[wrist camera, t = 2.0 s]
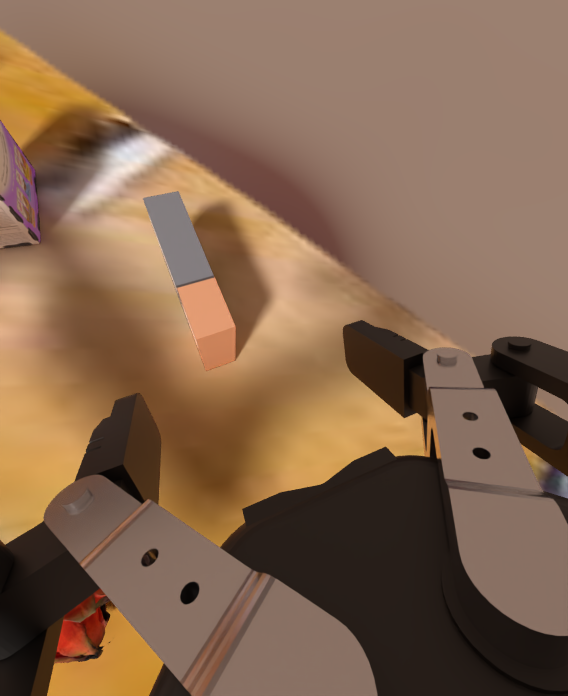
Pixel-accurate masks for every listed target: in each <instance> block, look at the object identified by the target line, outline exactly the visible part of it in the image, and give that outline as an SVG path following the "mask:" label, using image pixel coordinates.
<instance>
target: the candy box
mask: <svg viewBox="0 0 568 696" xmlns="http://www.w3.org/2000/svg"><path fill="white" fill-rule="evenodd" d="M40 238H41V237H40V227H39V214H38V201H37V190H36V177H35V169H34V168H33V166H32V165H31V163H30V162H29V161H28V159H27V158H26V156H25V155H24V153H23V152H22V150H21V149H20V148H19V146H18V145H17V143H16V142H15V140H14V139H13V138H12V136H11V135H10V134H9V132H8V130H7V129H6V128H5V126H4V125H3V123H2V122H1V120H0V248H7V247H15V246H26V245H35V244H40V242H41V240H40Z"/></svg>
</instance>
